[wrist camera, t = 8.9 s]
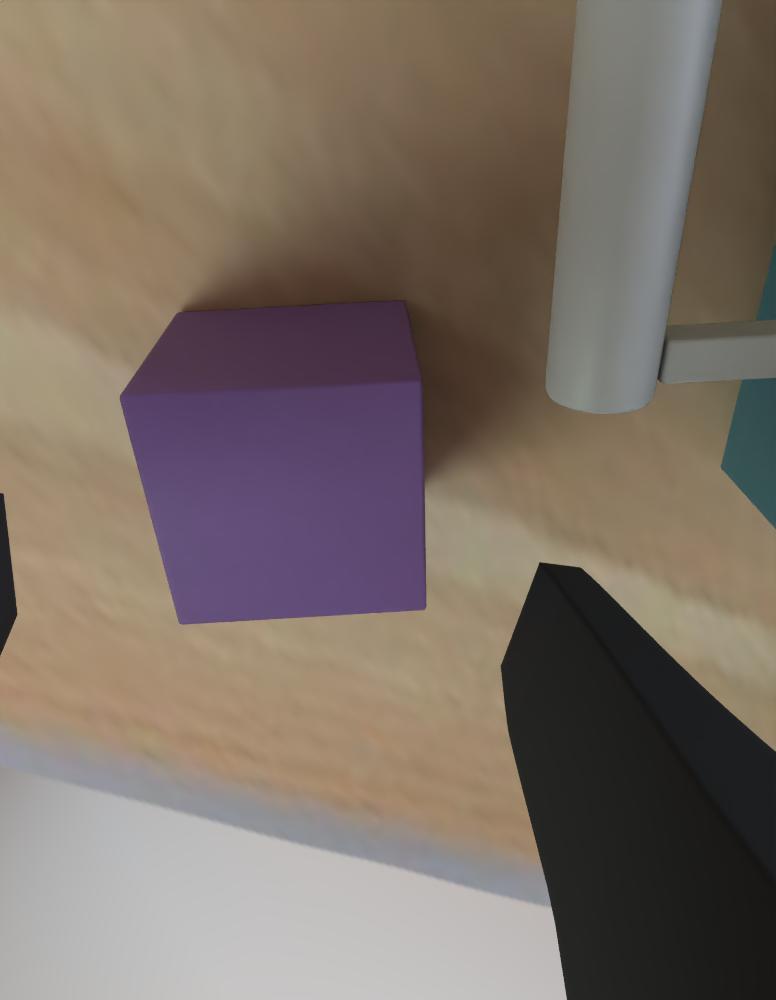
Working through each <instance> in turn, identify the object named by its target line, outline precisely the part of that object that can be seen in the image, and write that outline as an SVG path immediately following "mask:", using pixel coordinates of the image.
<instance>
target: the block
mask: <svg viewBox="0 0 776 1000" xmlns="http://www.w3.org/2000/svg"><path fill="white" fill-rule="evenodd" d="M120 402H121V406H122V409H123V413H124V417H125V421H126V425H127V428H128V432H129V436H130V440H131V443H132V447H133V451H134V455H135V458H136V462H137V466H138V470H139V474H140V477H141V481H142V485H143V489H144V492H145V496H146V500H147V504H148V508H149V511H150V515H151V519H152V523H153V526H154V530H155V534H156V538H157V541H158V545H159V549H160V553H161V557H162V560H163V564H164V568H165V572H166V575H167V579H168V583H169V587H170V590H171V594H172V598H173V602H174V606H175V609H176V613H177V617H178V621H179V623H180V624H199V623H215V622H232V621H249V620H266V619H282V618H299V617H316V616H332V615H349V614H366V613H382V612H399V611H416V610H425V608H426V548H425V486H424V424H423V380H422V376H421V371H420V367H419V362H418V357H417V353H416V348H415V343H414V339H413V334H412V330H411V325H410V320H409V316H408V311H407V306H406V303H405V301H403V300H398V301H379V302H361V303H342V304H324V305H305V306H286V307H268V308H249V309H231V310H212V311H194V312H179V313H177V314H176V315H175V317H174V318H173V320H172V321H171V323H170V324H169V325H168V327H167V328H166V330H165V331H164V333H163V334H162V336H161V337H160V339H159V340H158V341H157V343H156V344H155V346H154V347H153V349H152V350H151V352H150V353H149V355H148V356H147V357H146V359H145V360H144V362H143V363H142V365H141V366H140V368H139V369H138V371H137V372H136V373H135V375H134V376H133V378H132V379H131V381H130V382H129V384H128V385H127V387H126V388H125V389H124V391H123V392H122V394H121V395H120Z"/></svg>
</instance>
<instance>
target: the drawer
mask: <svg viewBox="0 0 776 1000" xmlns="http://www.w3.org/2000/svg"><path fill="white" fill-rule="evenodd" d="M722 3H723V0H577V7H576V19H575V31H574V43H573V55H572V67H571V79H570V91H569V103H568V115H567V127H566V139H565V152H564V164H563V176H562V188H561V200H560V212H559V224H558V236H557V248H556V260H555V272H554V284H553V296H552V308H551V320H550V332H549V344H548V356H547V368H546V380H545V388H546V391H547V394H548V396H549V397H550V398H551V399H552V400H553V401H555V402H556V403H558V404H560V405H562V406H564V407H567V408H570V409H573V410H577V411H582V412H587V413H596V414H618V413H626V412H631V411H635V410H638V409H640V408H643V407H644V406H646V405H647V404H649V403H650V401H651V400H652V398H653V397H654V394H655V390H656V384H657V379H658V380H659V381H660V382H661V383H663V384H672V383H690V382H708V381H726V380H742V381H741V386H740V390H739V394H738V398H737V402H736V406H735V410H734V415H733V419H732V423H731V427H730V431H729V435H728V439H727V443H726V448H725V452H724V456H723V460H722V464H721V469H722V470H723V471H724V472H725V473H726V474H727V475H728V476H729V478H730V479H731V480H732V481H733V482H734V483H735V484H736V485H737V486H738V488H739V489H740V490H741V491H742V492H743V493H744V494H745V495H746V496H747V498H748V499H749V500H750V501H751V502H752V503H753V504H754V505H755V506H756V508H757V509H758V510H759V511H760V512H761V513H762V514H763V515H764V517H765V518H766V519H767V520H768V521H769V522H770V523H771V524H772V525H773V527H774V528H775V529H776V241H775V245H774V249H773V253H772V257H771V261H770V266H769V270H768V274H767V278H766V282H765V286H764V290H763V295H762V299H761V303H760V307H759V311H758V315H757V319H756V321H747V322H728V323H710V324H692V325H674V326H667V320H668V315H669V309H670V303H671V297H672V291H673V286H674V280H675V274H676V268H677V263H678V257H679V251H680V245H681V240H682V234H683V228H684V222H685V216H686V211H687V205H688V199H689V193H690V188H691V182H692V176H693V170H694V165H695V159H696V153H697V147H698V141H699V136H700V130H701V124H702V118H703V113H704V107H705V101H706V95H707V90H708V84H709V78H710V72H711V66H712V61H713V55H714V49H715V43H716V38H717V32H718V26H719V20H720V15H721V9H722Z"/></svg>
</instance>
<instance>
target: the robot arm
mask: <svg viewBox="0 0 776 1000" xmlns="http://www.w3.org/2000/svg"><path fill="white" fill-rule="evenodd" d="M16 617H17V607H16V598H15V589H14V581H13V572H12V563H11V555H10V546H9V537H8V529H7V520H6V511H5V503H4V494H3V493H0V655H1V653H2V650H3V648H4V646H5V643H6V641H7V638H8V636H9V634H10V631H11V629H12V626H13V624H14V622H15V619H16ZM501 672H502V682H503V692H504V702H505V709H506V717H507V725H508V732H509V736H510V740H511V745H512V749H513V753H514V757H515V761H516V765H517V769H518V773H519V777H520V781H521V785H522V789H523V793H524V797H525V801H526V805H527V809H528V813H529V817H530V820H531V824H532V828H533V832H534V836H535V840H536V844H537V848H538V852H539V856H540V860H541V863H542V867H543V871H544V875H545V879H546V883H547V887H548V892H549V897H550V901H551V906H552V911H553V915H554V920H555V925H556V932H557V938H558V944H559V951H560V957H561V964H562V970H563V976H564V982H565V989H566V995H567V1000H776V751H774V750H773V749H772V748H771V747H770V746H768V745H767V744H766V743H765V742H764V741H763V740H761V739H760V738H759V737H758V736H757V735H756V734H754V733H753V732H752V731H751V730H750V729H749V728H748V727H747V726H746V725H744V724H743V723H742V722H741V721H740V720H739V719H738V718H737V717H735V716H734V715H733V714H732V713H731V712H730V711H729V710H728V709H726V708H725V707H724V706H723V705H722V704H721V703H720V702H719V701H717V700H716V699H715V698H714V697H713V696H712V695H711V694H710V693H709V692H708V691H707V690H706V689H705V688H704V687H703V686H701V685H700V684H699V683H698V682H697V681H696V680H695V679H694V678H693V677H692V676H691V675H690V674H689V673H688V672H687V671H686V670H685V669H684V668H683V667H682V666H680V665H679V664H678V663H677V662H676V661H675V660H674V659H673V658H672V657H671V656H670V655H669V654H668V653H667V652H666V651H665V650H664V649H663V648H662V647H661V646H660V645H659V644H658V643H657V642H656V641H655V640H654V639H653V638H652V637H651V636H650V635H649V634H648V633H647V632H646V631H645V630H644V629H643V628H642V627H641V626H640V625H639V624H638V623H637V622H636V621H635V620H634V619H633V618H632V617H631V616H630V615H629V614H628V613H627V612H626V611H625V610H624V609H623V608H622V607H621V606H620V605H619V604H618V603H617V602H616V601H615V600H614V599H613V598H612V597H611V596H610V595H609V594H608V593H607V592H606V591H605V590H604V589H603V588H602V587H601V586H600V585H599V584H598V583H597V582H596V581H595V580H594V579H593V578H592V577H591V576H590V575H588V574H587V573H586V572H585V571H584V570H583V569H582V568H580V567H572V566H564V565H556V564H549V563H541V562H540V563H539V566H538V568H537V571H536V574H535V576H534V579H533V582H532V584H531V587H530V590H529V592H528V595H527V598H526V600H525V603H524V606H523V608H522V611H521V614H520V616H519V619H518V622H517V624H516V627H515V630H514V632H513V635H512V638H511V640H510V643H509V646H508V648H507V651H506V654H505V656H504V659H503V662H502V664H501Z"/></svg>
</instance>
